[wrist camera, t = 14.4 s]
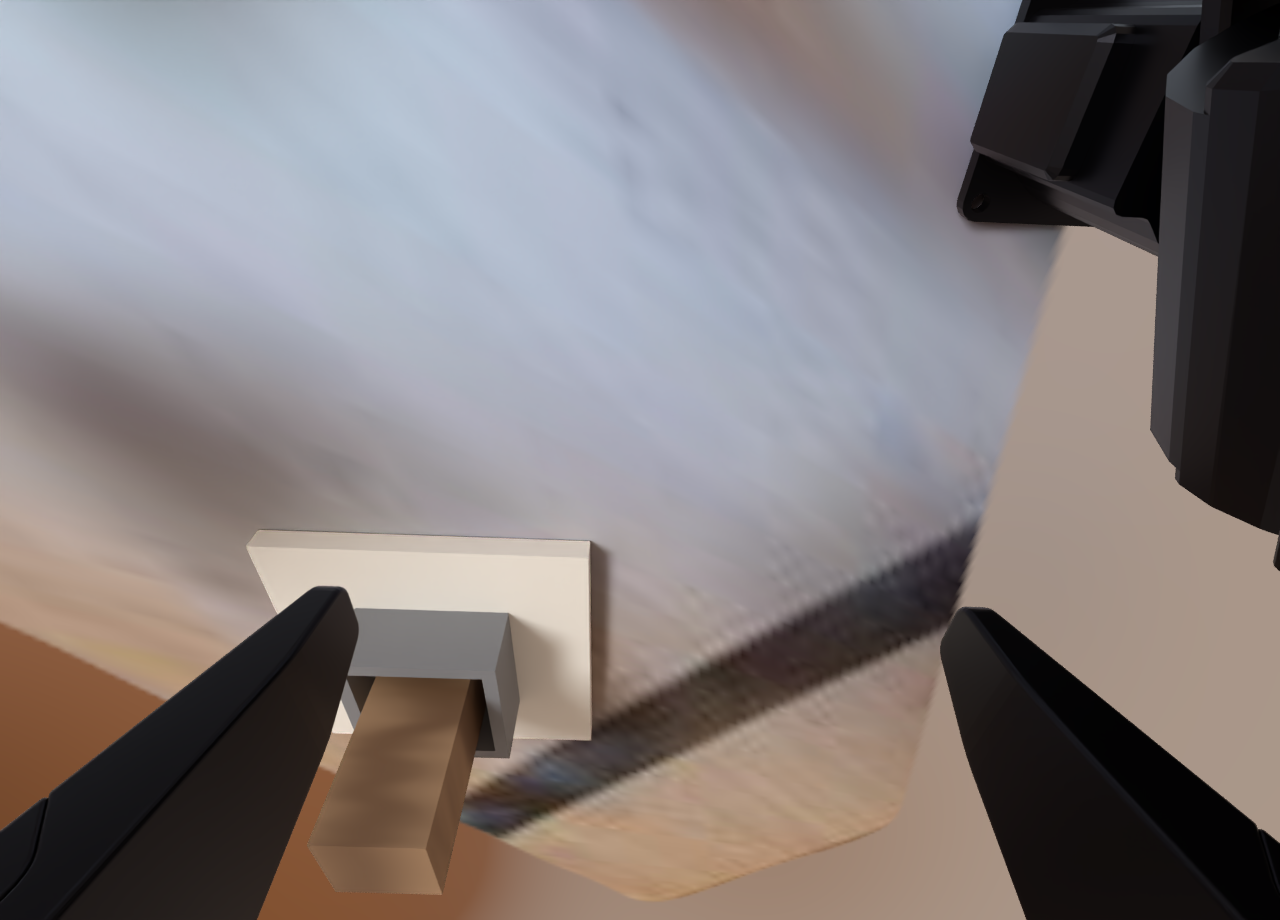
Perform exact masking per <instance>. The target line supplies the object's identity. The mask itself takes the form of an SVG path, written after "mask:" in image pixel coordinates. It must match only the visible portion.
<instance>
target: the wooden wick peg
mask: <svg viewBox="0 0 1280 920" xmlns="http://www.w3.org/2000/svg"><path fill="white" fill-rule="evenodd" d="M485 708H486V699H485V693H484V688H483V683H482V680H481V679H448V678H415V677H382V676H376V678H375V680H374V683H373V685H372V687H371V690H370V692H369V695H368V697H367V700H366V702H365V705H364V707H363V709H362V712H361V714H360V717H359V719H358V722H357V724H356V727H355V729H354V731H353V734H352V736H351V739H350V741H349V744H348V746H347V749H346V751H345V753H344V756H343V758H342V761H341V763H340V766H339V768H338V771H337V773H336V775H335V778H334V780H333V783H332V785H331V788H330V790H329V793H328V795H327V798H326V800H325V803H324V805H323V807H322V810H321V812H320V815H319V817H318V820H317V822H316V824H315V827H314V829H313V832H312V834H311V837H310V839H309V842H308V844H307V846H308V848H309V850H310V851H311V853H312V854H313V856H314V858H315V859H316V861H317V862H318V864H319V866H320V867H321V869H322V870H323V872H324V874H325V875H326V877H327V878H328V880H329V882H330V883H331V885H332V886H333V888H334V889H335V891H336V892H365V893H367V892H368V893H402V894H403V893H404V894H440V895H441V894H443V889H444V885H445V881H446V876H447V872H448V868H449V863H450V859H451V855H452V851H453V846H454V842H455V837H456V833H457V829H458V825H459V820H460V816H461V812H462V807H463V803H464V799H465V794H466V790H467V786H468V781H469V777H470V773H471V768H472V764H473V760H474V755H475V751H476V747H477V743H478V738H479V734H480V730H481V725H482V721H483V717H484V712H485Z"/></svg>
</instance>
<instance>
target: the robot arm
mask: <svg viewBox="0 0 1280 920" xmlns="http://www.w3.org/2000/svg"><path fill="white" fill-rule="evenodd" d="M970 141H971V144H972V146H973V148H974V150H973V153H972V156H971V160H970V163H969V166H968V169H967V172H966V175H965V178H964V181H963V184H962V187H961V190H960V193H959V196H958V200H957V209H958V212H959V213H960V214H961V215H962V216H963V217H965V218H966V219H968V220H971V221H974V222H997V223H1019V224H1042V225H1064V226H1087V227H1096V228H1098V229H1100V230H1102V231H1104V232H1106V233H1108V234H1111V235H1113V236H1115V237H1117V238H1119V239H1121V240H1123V241H1126V242H1128V243H1130V244H1132V245H1134V246H1136V247H1139V248H1141V249H1143V250H1145V251H1147V252H1149V253H1151V254H1153V255H1156V256H1158V273H1157V295H1156V296H1157V297H1156V317H1155V339H1154V361H1153V362H1154V363H1153V383H1152V384H1153V385H1152V404H1151V405H1152V406H1151V428H1150V430H1151V432H1152V433H1153V435H1154V437H1155V438H1156V440H1157V442H1158V444H1159V445H1160V447H1161V448H1162V450H1163V452H1164V454H1165V455H1166V457H1167V459H1168V460H1169V462H1171V464H1173V465H1174V466H1175V467H1176V473H1175V479H1176V480H1177V482H1178V483H1179V485H1181V486H1182V487H1184V488H1185V489H1187V490H1188V491H1189V492H1191V493H1192V494H1194V495H1195V496H1197V497H1198V498H1200V499H1201V500H1202V501H1204V502H1205V503H1207V504H1208V505H1210V506H1211V507H1213V508H1215V509H1218V510H1220V511H1222V512H1224V513H1226V514H1229V515H1231V516H1233V517H1235V518H1237V519H1240V520H1242V521H1244V522H1246V523H1248V524H1251V525H1253V526H1255V527H1257V528H1259V529H1262V530H1265V531H1268V532H1271V533H1274V534H1277V535H1279V537H1278V542H1277V546H1276V551H1275V556H1274V560H1273V563H1274V566H1275V567H1276V568H1277V569H1278V570H1279V571H1280V0H1022V3H1021V6H1020V10H1019V13H1018V16H1017V19H1016V22H1015V24H1014V25H1013V26H1012V27H1011V28H1010V29H1009V30H1008V31H1007V32H1006V33H1005V34H1004V36H1003V39H1002V42H1001V46H1000V49H999V52H998V55H997V58H996V61H995V64H994V67H993V70H992V74H991V77H990V80H989V83H988V86H987V89H986V92H985V95H984V99H983V102H982V105H981V108H980V111H979V114H978V117H977V120H976V123H975V127H974V130H973V133H972V136H971V140H970ZM980 194H984V200H983V202H982V204H981V205H980V206H979V207H977V208H975V209H972V208H971V206H972V202H973V200H974V198H975V197H977V196H978V195H980ZM358 636H359V623H358V620H357V617H356V614H355V611H354V608H353V605H352V603H351V600H350V597H349V594H348V592H347V590H346V589H345V588H343V587H340V586H316V587H313V588H311V589H310V590H308V591H307V592H306V593H304V594H303V595H302V596H300V597H299V598H298V599H297V600H295V601H294V602H293V603H292V604H290V605H289V606H288V607H286V608H285V609H284V610H283V611H281V612H280V613H279V614H277V615H276V616H275V617H274V618H272V619H271V620H270V621H268V622H267V623H266V624H265V625H263V626H262V627H261V628H260V629H258V630H257V631H256V632H254V633H253V634H252V635H251V636H249V637H248V638H247V639H245V640H244V641H243V642H242V643H240V644H239V645H238V646H237V647H235V648H234V649H233V650H231V651H230V652H229V653H228V654H226V655H225V656H224V657H222V658H221V659H220V660H219V661H217V662H216V663H215V664H213V665H212V666H211V667H210V668H208V669H207V670H206V671H205V672H203V673H202V674H201V675H199V676H198V677H197V678H196V679H194V680H193V681H192V682H190V683H189V684H188V685H187V686H185V687H184V688H183V689H182V690H180V691H179V692H178V693H176V694H175V695H174V696H173V697H171V698H170V699H169V700H167V701H166V702H165V703H164V704H162V705H161V706H160V707H158V709H156V710H155V711H153V712H152V713H151V714H150V715H148V716H147V717H146V718H144V719H143V720H142V721H141V722H139V723H138V724H137V725H136V726H134V727H133V728H132V729H130V730H129V731H128V732H127V733H125V734H124V735H123V736H121V737H120V738H119V739H118V740H116V741H115V742H114V743H112V744H111V745H110V746H109V747H107V748H106V749H105V750H104V751H102V752H101V753H100V754H98V755H97V756H96V757H95V758H93V759H92V760H91V761H89V762H88V763H87V764H86V765H84V766H83V767H82V768H80V769H79V770H78V771H77V772H75V773H74V774H73V775H72V776H70V777H69V778H68V779H66V780H65V781H64V782H63V783H61V784H60V785H59V786H57V787H56V788H55V789H54V790H52V791H51V793H50V794H49V797H48V798H42V799H41V800H39V801H38V802H37V803H35V804H34V805H33V806H31V807H30V808H29V809H28V810H26V811H25V812H24V813H23V814H21V815H20V816H19V817H18V818H17V819H15V820H14V821H12V822H11V823H10V824H9V825H7V826H6V827H5V828H3V829H2V830H1V831H0V920H257V918H258V916H259V913H260V910H261V908H262V906H263V903H264V901H265V898H266V896H267V893H268V891H269V888H270V886H271V883H272V881H273V878H274V876H275V873H276V871H277V868H278V866H279V863H280V861H281V859H282V856H283V854H284V851H285V849H286V846H287V844H288V841H289V839H290V836H291V834H292V831H293V829H294V826H295V824H296V821H297V819H298V816H299V814H300V811H301V809H302V806H303V804H304V801H305V799H306V797H307V794H308V792H309V789H310V787H311V784H312V782H313V779H314V777H315V774H316V772H317V769H318V767H319V764H320V762H321V759H322V757H323V754H324V752H325V749H326V746H327V744H328V741H329V738H330V735H331V732H332V728H333V725H334V722H335V718H336V715H337V711H338V708H339V704H340V701H341V697H342V694H343V690H344V686H345V683H346V679H347V676H348V672H349V669H350V665H351V662H352V658H353V655H354V651H355V647H356V644H357V640H358ZM940 654H941V660H942V664H943V668H944V672H945V675H946V679H947V683H948V687H949V691H950V695H951V699H952V702H953V707H954V711H955V715H956V718H957V722H958V726H959V730H960V734H961V738H962V742H963V745H964V749H965V752H966V756H967V759H968V762H969V765H970V768H971V771H972V773H973V776H974V779H975V782H976V784H977V787H978V790H979V793H980V795H981V798H982V801H983V803H984V806H985V809H986V811H987V814H988V817H989V820H990V822H991V825H992V828H993V830H994V833H995V836H996V839H997V841H998V844H999V847H1000V849H1001V852H1002V855H1003V857H1004V860H1005V863H1006V866H1007V868H1008V871H1009V874H1010V877H1011V879H1012V882H1013V885H1014V887H1015V890H1016V893H1017V895H1018V898H1019V901H1020V904H1021V906H1022V909H1023V911H1024V914H1025V917H1026V920H1280V843H1279V842H1278V841H1277V840H1275V839H1274V838H1273V837H1272V836H1271V835H1269V834H1268V833H1267V832H1266V831H1264V830H1262V829H1258V828H1257V825H1256V824H1255V823H1254V822H1253V821H1252V820H1251V819H1249V818H1248V817H1247V816H1246V815H1244V814H1243V813H1242V812H1240V811H1239V810H1238V809H1237V808H1236V807H1234V806H1233V805H1232V804H1231V803H1230V802H1228V801H1227V800H1226V799H1225V798H1224V797H1222V796H1221V795H1220V794H1219V793H1217V792H1216V791H1215V790H1214V789H1212V788H1211V787H1210V786H1209V785H1208V784H1206V783H1205V782H1204V781H1203V780H1201V779H1200V778H1199V777H1198V776H1197V775H1195V774H1194V773H1193V772H1192V771H1190V770H1189V769H1188V768H1187V767H1185V766H1184V765H1183V764H1182V763H1181V762H1179V761H1178V760H1177V759H1176V758H1174V757H1173V756H1172V755H1171V754H1169V753H1168V752H1167V751H1166V750H1164V749H1163V748H1162V747H1161V746H1160V745H1158V744H1157V743H1156V742H1155V741H1154V740H1152V739H1151V738H1150V737H1149V736H1147V735H1146V734H1145V733H1144V732H1142V731H1141V730H1140V729H1139V728H1137V727H1136V726H1135V725H1134V724H1133V723H1131V722H1130V721H1128V719H1126V718H1125V717H1124V716H1123V715H1121V714H1120V713H1119V712H1118V711H1117V710H1115V709H1114V708H1113V707H1112V706H1110V705H1109V704H1108V703H1107V702H1106V701H1104V700H1103V699H1102V698H1101V697H1099V696H1098V695H1097V694H1096V693H1095V692H1093V691H1092V690H1091V689H1090V688H1088V687H1087V686H1086V685H1085V684H1083V683H1082V682H1081V681H1080V680H1079V679H1077V678H1076V677H1075V676H1074V675H1072V674H1071V673H1070V672H1069V671H1068V670H1066V669H1065V668H1064V667H1063V666H1061V665H1060V664H1059V663H1058V662H1056V661H1055V660H1054V659H1053V658H1052V657H1050V656H1049V655H1048V654H1046V653H1045V652H1044V651H1043V650H1042V649H1040V648H1039V647H1038V646H1037V645H1036V644H1034V643H1033V642H1032V641H1031V640H1029V639H1028V638H1027V637H1026V636H1025V635H1023V634H1022V633H1021V632H1020V631H1018V630H1017V629H1016V628H1015V627H1013V626H1012V625H1011V624H1010V623H1009V622H1007V621H1006V620H1005V619H1004V618H1002V617H1001V616H1000V615H999V614H997V613H996V612H994V611H993V610H991V609H989V608H983V607H962V608H960V609H959V610H958V611H957V612H956V614H955V616H954V618H953V619H952V621H951V623H950V625H949V627H948V629H947V631H946V633H945V635H944V637H943V639H942V641H941V646H940Z"/></svg>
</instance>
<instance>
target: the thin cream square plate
mask: <svg viewBox="0 0 1280 920" xmlns="http://www.w3.org/2000/svg"><path fill="white" fill-rule="evenodd" d="M246 548H247V550H248V552H249V555H250V557H251V559H252V561H253V563H254V565H255V567H256V570H257V572H258V574H259V576H260V578H261V580H262V582H263V585H264V587H265V589H266V591H267V593H268V595H269V597H270V599H271V602H272V604H273V606H274V608H275V610H276V612H277V614H279V613H280V612H281V611H283V610H284V609H285V608H286V607H288V606H289V605H290V604H292V603H293V602H294V601H295V600H297V599H298V598H299V597H300V596H302V595H303V594H304V593H306V592H307V591H308V590H310V589H311V588H313V587H316V586H340V587H343V588H345V589H346V590H347V592H348V594H349V597H350V600H351V603H352V605H353V608H354V611H355V614H356V617H357V620H358V623H359V636H358V640H357V644H356V647H355V651H354V655H353V658H352V662H351V665H350V669H349V672H348V676H347V679H346V683H345V686H344V690H343V694H342V697H341V701H340V704H339V708H338V711H337V715H336V718H335V722H334V725H333V728H332V732H333V733H345V734H353V731H354V729H355V727H356V724H357V722H358V719H359V717H360V714H361V712H362V709H363V707H364V705H365V702H366V700H367V697H368V695H369V692H370V690H371V687H372V685H373V683H374V680H375V678H376V676H382V677H415V678H448V679H481V680H482V683H483V688H484V693H485V699H486V708H485V712H484V717H483V721H482V725H481V730H480V734H479V738H478V743H477V747H476V751H475V755H474V757H481V758H510V752H511V747H512V741H513V738H520V739H556V740H591V732H592V666H591V572H590V541H571V540H541V539H512V538H483V537H454V536H425V535H396V534H366V533H337V532H308V531H279V530H258V531H257V532H256V533H255V535H254V536H253V537H252V539H251V540H250V541H249V543H248V544H247V545H246Z"/></svg>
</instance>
